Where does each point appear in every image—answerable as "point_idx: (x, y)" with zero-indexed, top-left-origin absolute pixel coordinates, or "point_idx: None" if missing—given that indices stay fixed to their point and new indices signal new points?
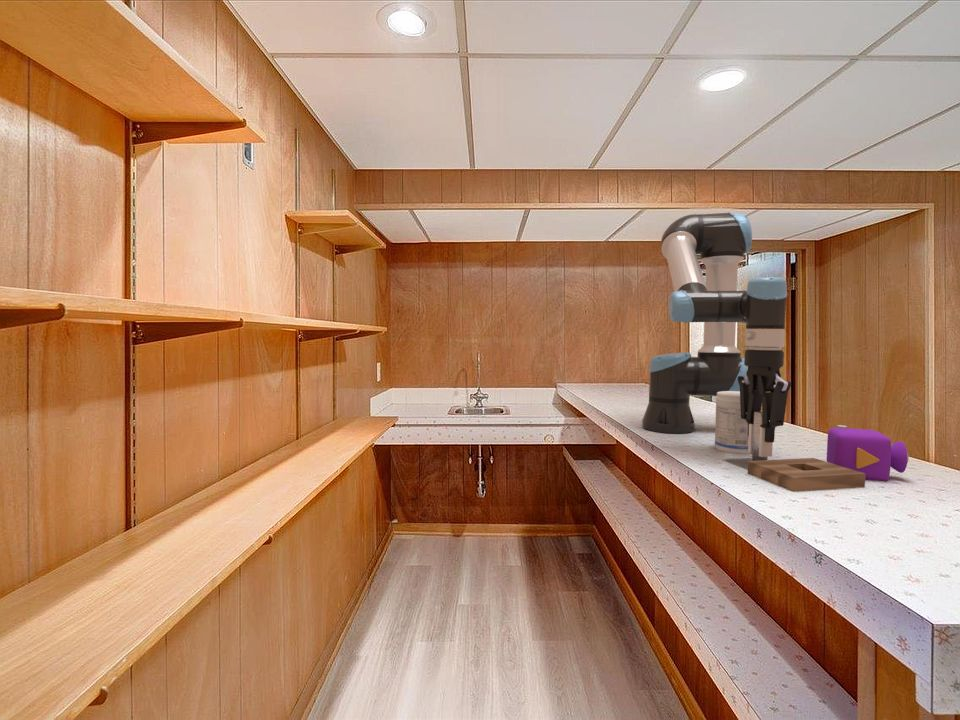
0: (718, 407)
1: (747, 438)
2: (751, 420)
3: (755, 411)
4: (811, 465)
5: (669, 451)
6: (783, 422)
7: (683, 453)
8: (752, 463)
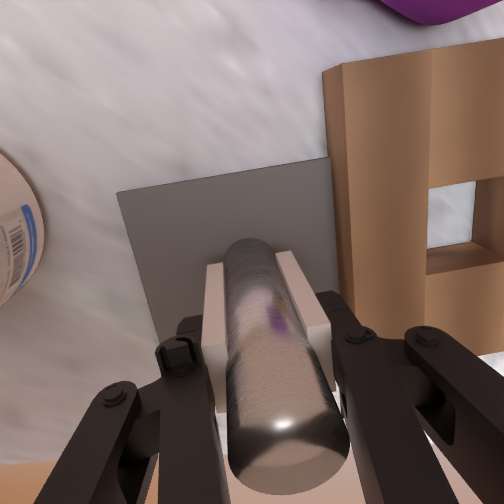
0: None
1: (2, 236)
2: (216, 420)
3: (259, 482)
4: (460, 180)
5: (30, 461)
6: (455, 341)
7: (54, 429)
8: None
